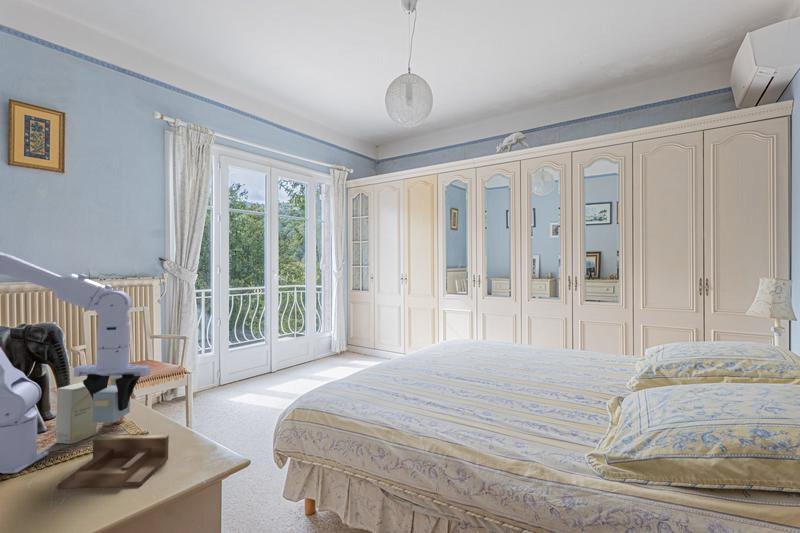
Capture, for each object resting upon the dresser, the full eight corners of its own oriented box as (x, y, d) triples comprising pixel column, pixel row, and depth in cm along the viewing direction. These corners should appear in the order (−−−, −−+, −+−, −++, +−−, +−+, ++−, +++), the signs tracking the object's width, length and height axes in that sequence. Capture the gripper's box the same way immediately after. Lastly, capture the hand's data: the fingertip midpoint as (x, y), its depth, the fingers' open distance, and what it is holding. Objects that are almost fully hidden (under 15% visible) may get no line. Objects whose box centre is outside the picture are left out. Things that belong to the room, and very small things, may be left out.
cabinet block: (90, 424, 83) (90, 395, 83) (110, 412, 90) (111, 385, 90) (110, 424, 83) (111, 395, 83) (129, 412, 90) (130, 385, 90)
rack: (57, 488, 72) (58, 460, 72) (96, 459, 82) (97, 435, 82) (140, 486, 73) (140, 459, 73) (168, 458, 83) (168, 434, 83)
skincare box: (71, 445, 88) (72, 390, 88) (54, 443, 89) (55, 388, 89) (97, 433, 95) (98, 382, 95) (82, 431, 96) (83, 380, 95)
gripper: (63, 349, 82) (62, 416, 82) (138, 350, 84) (136, 415, 84) (87, 343, 89) (85, 404, 89) (155, 343, 91) (154, 404, 91)
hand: (111, 409), depth 87 cm, fingers closed on cabinet block, 4 cm apart
